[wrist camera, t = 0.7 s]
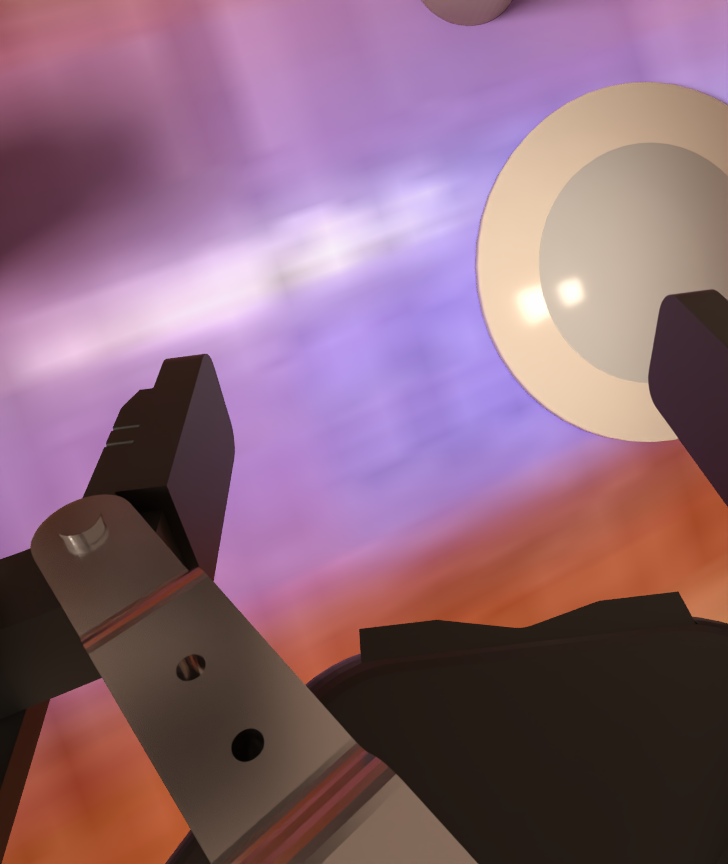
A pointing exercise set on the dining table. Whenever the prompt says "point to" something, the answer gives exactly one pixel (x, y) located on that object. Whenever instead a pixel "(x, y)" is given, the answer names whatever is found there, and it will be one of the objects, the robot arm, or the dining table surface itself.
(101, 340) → the dining table surface
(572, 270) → the dish
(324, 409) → the dining table surface
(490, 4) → the white tapered cylinder
